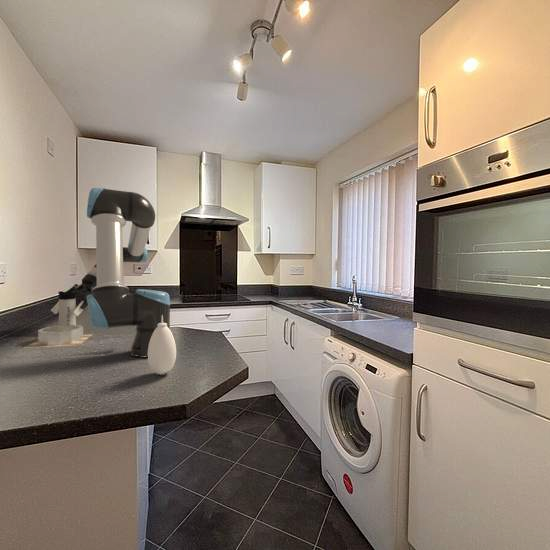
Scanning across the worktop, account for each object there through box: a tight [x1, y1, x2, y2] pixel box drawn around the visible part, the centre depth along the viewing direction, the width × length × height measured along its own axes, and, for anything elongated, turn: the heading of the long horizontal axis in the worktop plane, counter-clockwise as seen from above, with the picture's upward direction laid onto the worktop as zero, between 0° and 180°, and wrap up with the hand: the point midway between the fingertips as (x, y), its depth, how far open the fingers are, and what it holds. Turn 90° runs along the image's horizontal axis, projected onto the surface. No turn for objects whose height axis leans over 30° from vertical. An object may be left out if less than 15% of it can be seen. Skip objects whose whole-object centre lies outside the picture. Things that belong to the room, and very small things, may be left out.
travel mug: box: [57, 290, 77, 326], centre depth 133 cm, size 6×7×20 cm
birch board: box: [23, 333, 94, 349], centre depth 120 cm, size 18×18×1 cm
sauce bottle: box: [147, 315, 177, 374], centre depth 88 cm, size 8×8×18 cm
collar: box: [37, 324, 84, 346], centre depth 120 cm, size 14×14×5 cm
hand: (63, 313), depth 132 cm, fingers open, 13 cm apart
